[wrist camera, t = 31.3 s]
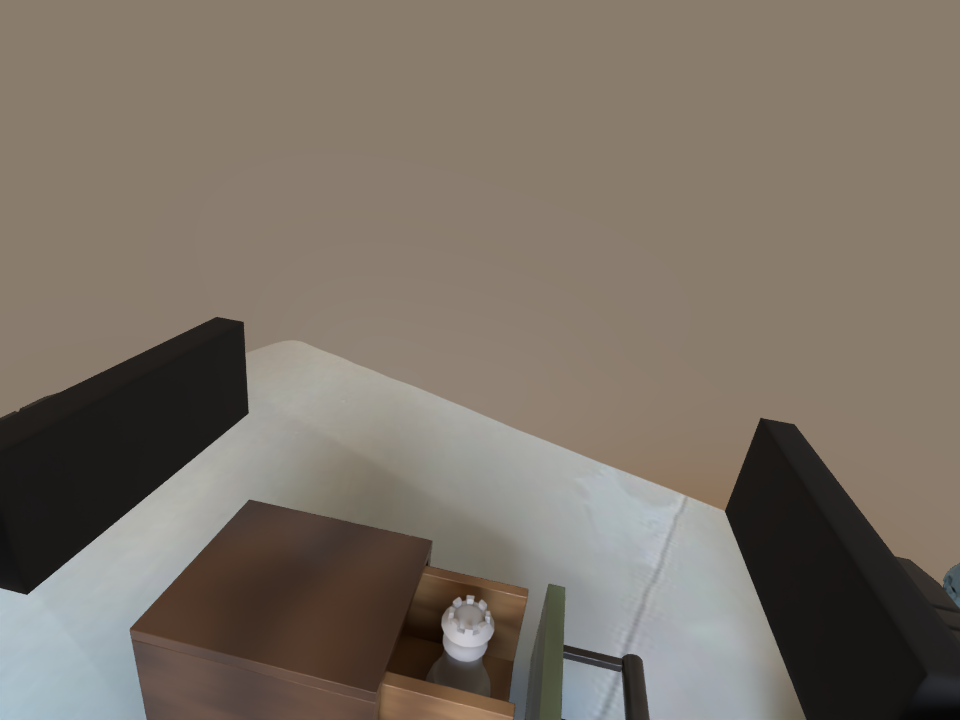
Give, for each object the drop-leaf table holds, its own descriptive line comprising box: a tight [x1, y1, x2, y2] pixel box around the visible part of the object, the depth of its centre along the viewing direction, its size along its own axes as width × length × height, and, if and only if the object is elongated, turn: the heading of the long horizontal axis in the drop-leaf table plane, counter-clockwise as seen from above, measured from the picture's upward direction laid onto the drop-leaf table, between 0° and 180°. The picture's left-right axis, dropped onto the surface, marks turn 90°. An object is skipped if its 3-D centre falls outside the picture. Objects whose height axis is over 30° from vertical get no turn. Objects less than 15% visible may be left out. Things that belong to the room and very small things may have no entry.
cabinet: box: [130, 500, 432, 720], centre depth 35 cm, size 14×12×9 cm
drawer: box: [378, 566, 650, 720], centre depth 34 cm, size 19×10×8 cm, turn 80°
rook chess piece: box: [426, 595, 494, 697], centre depth 34 cm, size 4×4×8 cm
